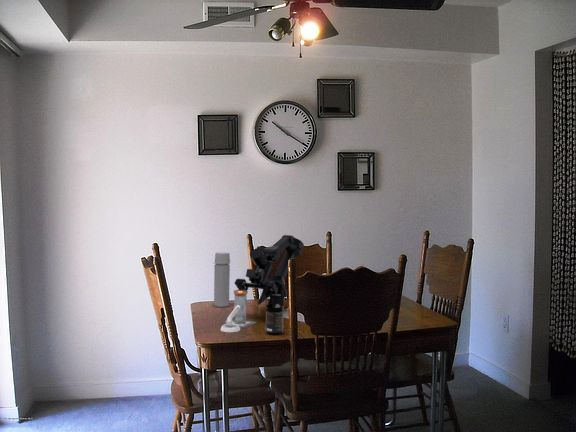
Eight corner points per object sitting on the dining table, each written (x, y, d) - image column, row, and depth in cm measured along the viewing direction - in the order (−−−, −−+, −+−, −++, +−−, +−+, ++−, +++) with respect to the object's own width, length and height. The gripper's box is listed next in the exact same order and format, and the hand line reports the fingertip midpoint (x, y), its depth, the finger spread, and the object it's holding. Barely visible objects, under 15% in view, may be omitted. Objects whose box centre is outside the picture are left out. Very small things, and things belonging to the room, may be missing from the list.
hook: (252, 319, 202) (237, 309, 200) (233, 343, 203) (218, 333, 202) (251, 311, 209) (236, 301, 207) (233, 333, 210) (219, 324, 209)
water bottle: (231, 307, 247) (231, 253, 246) (214, 307, 245) (214, 253, 244) (228, 303, 256) (229, 251, 255) (212, 303, 254) (212, 251, 253)
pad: (235, 320, 222) (235, 319, 222) (256, 323, 217) (256, 321, 217) (222, 325, 213) (222, 324, 213) (243, 328, 208) (243, 327, 208)
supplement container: (286, 332, 204) (286, 305, 203) (277, 336, 198) (278, 308, 197) (271, 329, 207) (271, 303, 206) (262, 333, 201) (262, 306, 200)
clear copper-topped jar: (244, 320, 219) (245, 289, 218) (248, 323, 213) (249, 291, 213) (231, 321, 216) (231, 290, 216) (235, 324, 211) (235, 292, 211)
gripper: (236, 259, 229) (222, 289, 220) (274, 263, 220) (261, 294, 211) (246, 275, 236) (232, 304, 227) (283, 278, 228) (271, 309, 219)
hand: (249, 302), depth 221 cm, fingers open, 9 cm apart
